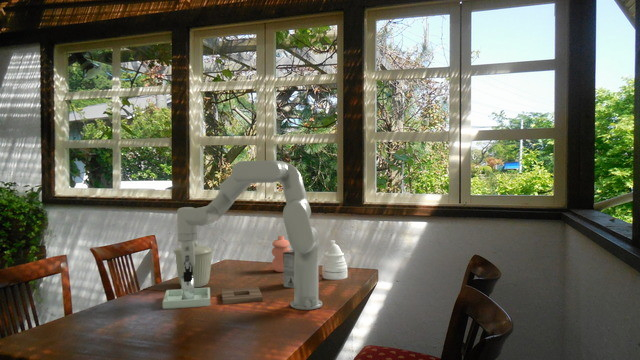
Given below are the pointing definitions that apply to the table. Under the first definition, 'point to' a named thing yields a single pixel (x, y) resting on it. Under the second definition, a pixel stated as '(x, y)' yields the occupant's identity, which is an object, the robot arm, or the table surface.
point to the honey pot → (334, 263)
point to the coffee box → (288, 268)
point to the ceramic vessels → (281, 254)
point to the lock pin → (187, 288)
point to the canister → (197, 264)
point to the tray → (175, 300)
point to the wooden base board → (241, 295)
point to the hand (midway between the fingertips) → (188, 278)
